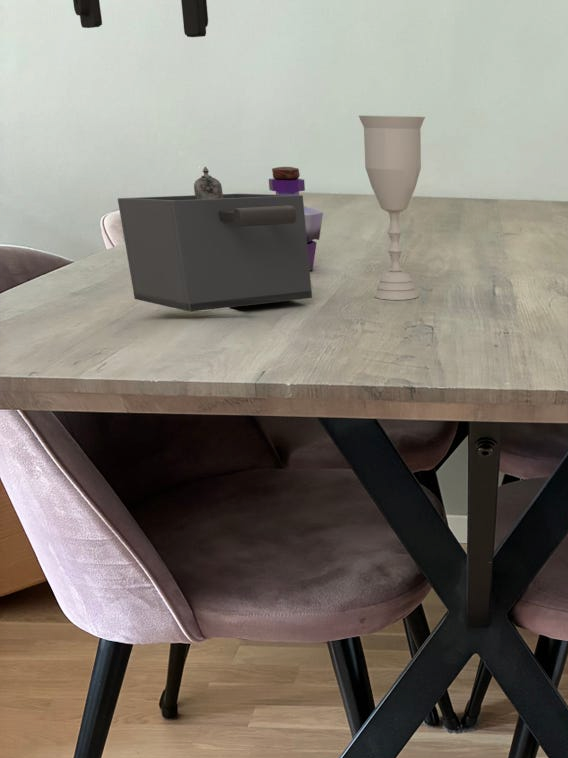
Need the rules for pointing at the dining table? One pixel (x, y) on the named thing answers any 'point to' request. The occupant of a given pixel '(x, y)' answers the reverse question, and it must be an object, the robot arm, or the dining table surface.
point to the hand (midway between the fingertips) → (145, 31)
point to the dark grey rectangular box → (216, 250)
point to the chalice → (393, 185)
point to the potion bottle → (289, 184)
